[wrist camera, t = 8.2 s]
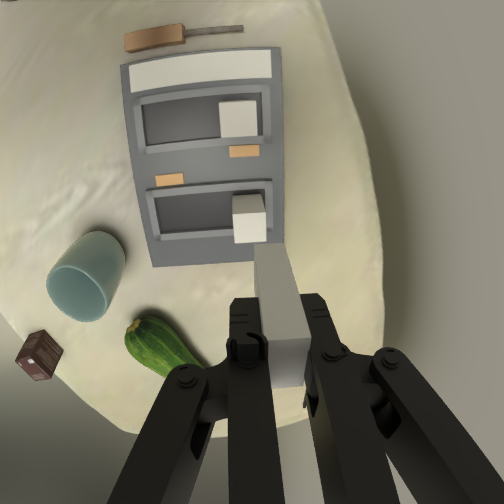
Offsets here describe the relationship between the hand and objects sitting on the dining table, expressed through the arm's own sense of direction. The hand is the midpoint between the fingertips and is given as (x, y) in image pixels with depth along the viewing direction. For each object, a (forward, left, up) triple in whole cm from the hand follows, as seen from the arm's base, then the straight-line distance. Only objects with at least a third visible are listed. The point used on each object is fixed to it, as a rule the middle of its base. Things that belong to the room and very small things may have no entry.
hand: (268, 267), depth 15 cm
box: (+28, -40, -20) cm, 53 cm away
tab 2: (+4, 0, -17) cm, 18 cm away
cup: (+9, -19, -20) cm, 29 cm away
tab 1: (-6, -1, -17) cm, 18 cm away
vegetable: (+28, -13, -20) cm, 37 cm away
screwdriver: (-16, -6, -20) cm, 26 cm away
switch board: (-1, -4, -20) cm, 20 cm away
